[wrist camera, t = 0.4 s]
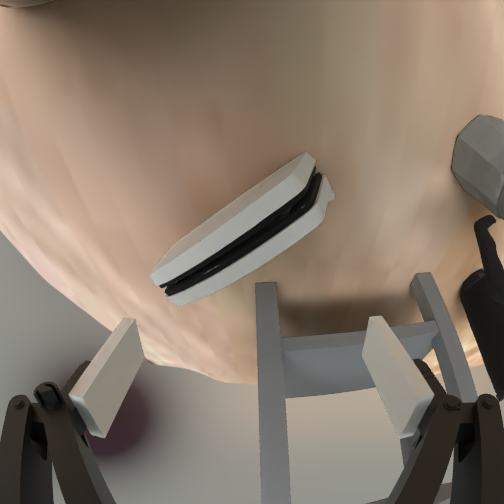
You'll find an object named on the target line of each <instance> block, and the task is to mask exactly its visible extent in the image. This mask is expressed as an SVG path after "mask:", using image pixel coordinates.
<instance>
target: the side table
mask: <svg viewBox="0 0 504 504" xmlns="http://www.w3.org/2000/svg"><path fill="white" fill-rule="evenodd" d="M410 286H411V289H412V291H413V293H414V296H415V298H416V301H417V303H418V306H419V308H420V311H421V314H422V316H423V319H424V322H421V323H415V324H409V325H402V326H395V327H390V328H391V330H392V331H393V333H394V334H395V335H396V337H397V338H398V340H399V341H400V343H401V344H402V346H403V347H404V349H405V350H406V352H407V353H408V354H409V356H410V357H411V359H418V358H419V359H421V360H422V359H423V358H424V357H425V356H426V355H427V354H428V353H429V352H430V351H431V350H432V349H433V348H434V350H435V353H436V356H437V360H438V363H439V366H440V369H441V373H442V376H443V379H444V383H445V387H446V391H447V395H453V396H456V397H458V398H459V399H460V400H461V401H462V403H469V402H476V400H477V399H478V396H477V392H476V389H475V385H474V382H473V378H472V375H471V372H470V369H469V366H468V363H467V360H466V357H465V354H464V351H463V348H462V345H461V343H460V340H459V337H458V335H457V332H456V330H455V327H454V324H453V322H452V320H451V317H450V315H449V312H448V310H447V308H446V305H445V303H444V301H443V298H442V296H441V294H440V292H439V290H438V288H437V285H436V283H435V281H434V279H433V277H432V275H431V273H430V272H429V273H417V274H416V275H415V277H414V279H413V281H412V283H411V285H410ZM255 293H256V327H257V362H258V399H259V436H260V475H261V504H291V496H290V475H289V455H288V438H287V420H286V407H285V405H286V404H285V398H295V397H306V396H317V395H326V394H334V393H342V392H349V391H355V390H362V389H368V388H373V387H376V386H375V383H374V381H373V379H372V377H371V375H370V373H369V370H368V368H367V366H366V364H365V362H364V360H363V358H362V351H363V347H364V342H365V337H366V332H367V330H365V331H356V332H347V333H337V334H326V335H313V336H299V337H283V338H281V336H280V323H279V311H278V300H277V288H276V282H270V283H255ZM419 435H420V431H419V429H418V428H417V429H416V431H415V433H414V435H413V436H409V437H405V438H402V439H400V442H401V449H402V456H403V464H404V467H405V465H406V463H407V461H408V459H409V457H410V455H411V453H412V450H413V448H414V447H412V446H413V445H414V443H415V442H416V440H417V438H418V437H419ZM451 489H452V482H451V483H445V484H441V486H440V488H439V491H438V493H437V496H436V498H435V501H434V503H433V504H450V498H451ZM387 499H388V498H385V499H382V500H378V501H374V502H370V503H366V504H385V503H386V501H387Z"/></svg>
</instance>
